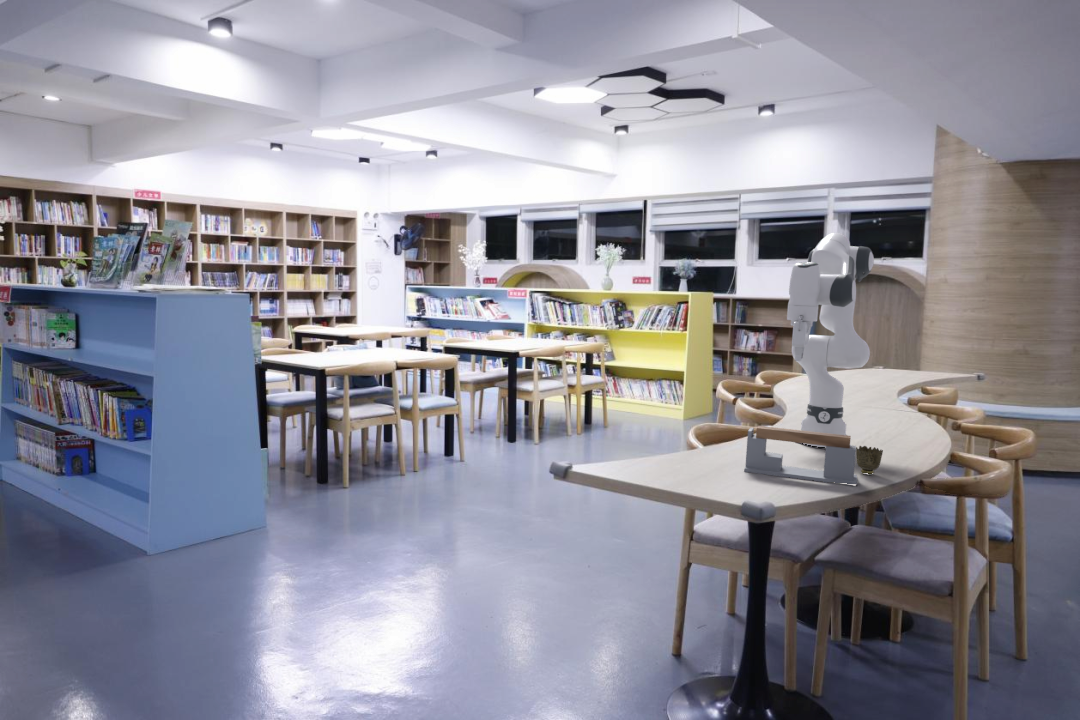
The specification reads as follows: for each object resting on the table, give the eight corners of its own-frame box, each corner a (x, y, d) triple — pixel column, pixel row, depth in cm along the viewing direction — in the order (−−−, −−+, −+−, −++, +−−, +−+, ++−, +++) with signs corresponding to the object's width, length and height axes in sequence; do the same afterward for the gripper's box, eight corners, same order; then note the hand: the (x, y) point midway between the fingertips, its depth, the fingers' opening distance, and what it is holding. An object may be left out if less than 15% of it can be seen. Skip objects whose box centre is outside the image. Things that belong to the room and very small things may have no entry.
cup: (872, 478, 218) (874, 452, 217) (848, 473, 224) (851, 447, 223) (885, 475, 222) (887, 449, 222) (862, 470, 228) (864, 444, 227)
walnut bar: (754, 434, 225) (768, 401, 223) (837, 470, 217) (853, 437, 214) (752, 436, 222) (767, 403, 219) (837, 473, 213) (853, 439, 211)
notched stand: (748, 464, 230) (751, 426, 228) (856, 478, 218) (860, 438, 217) (744, 471, 220) (747, 432, 219) (856, 486, 209) (860, 444, 207)
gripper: (811, 316, 216) (807, 363, 217) (814, 314, 235) (811, 358, 236) (789, 315, 218) (785, 361, 220) (793, 313, 237) (790, 356, 238)
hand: (798, 359), depth 228 cm, fingers open, 8 cm apart
